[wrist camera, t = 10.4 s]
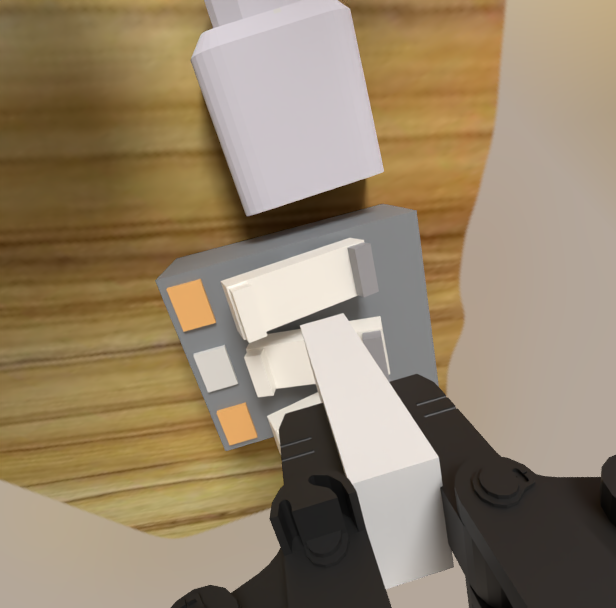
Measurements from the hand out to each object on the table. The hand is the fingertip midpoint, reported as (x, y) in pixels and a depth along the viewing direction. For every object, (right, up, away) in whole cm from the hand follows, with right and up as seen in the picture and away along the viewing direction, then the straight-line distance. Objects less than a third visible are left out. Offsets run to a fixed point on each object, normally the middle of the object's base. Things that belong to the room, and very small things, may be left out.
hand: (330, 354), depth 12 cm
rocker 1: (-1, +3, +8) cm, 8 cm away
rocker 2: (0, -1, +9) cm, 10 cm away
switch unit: (-1, +1, +17) cm, 17 cm away
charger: (-3, +17, +12) cm, 21 cm away
